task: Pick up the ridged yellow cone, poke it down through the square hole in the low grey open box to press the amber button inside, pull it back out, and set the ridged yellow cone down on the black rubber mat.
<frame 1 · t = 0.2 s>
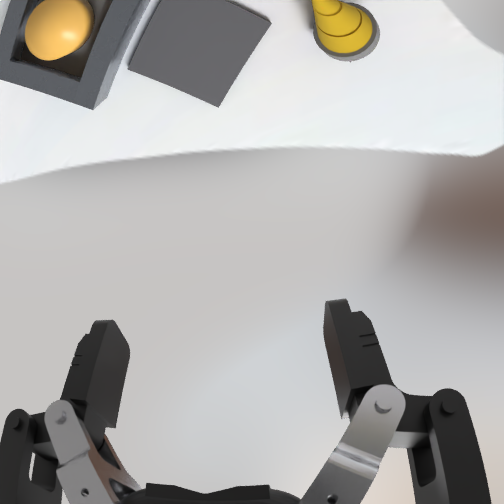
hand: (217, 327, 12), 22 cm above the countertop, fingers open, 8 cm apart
rest mat: (197, 42, 22), on the countertop
ridged yellow cone: (326, 25, 22), on the countertop
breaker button: (59, 26, 17), point 3 cm above the countertop, slide at 0.0 cm
grey open box: (74, 22, 19), on the countertop
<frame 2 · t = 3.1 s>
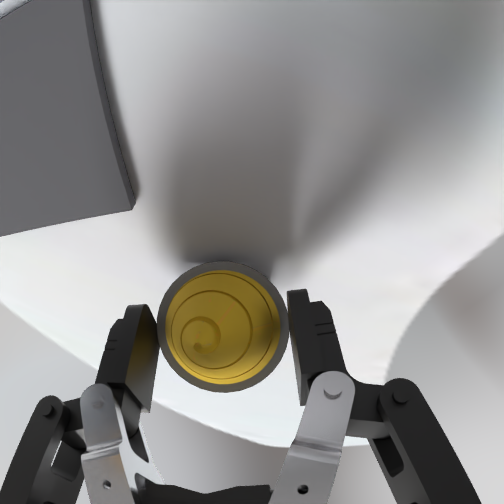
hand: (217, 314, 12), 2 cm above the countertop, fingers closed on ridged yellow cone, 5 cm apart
rest mat: (13, 126, 9), on the countertop
ridged yellow cone: (211, 271, 14), on the countertop, touching gripper
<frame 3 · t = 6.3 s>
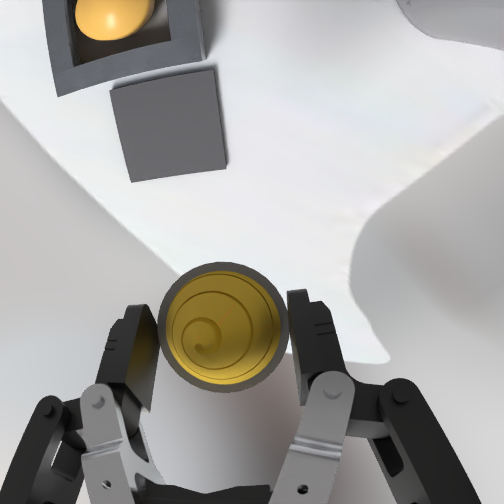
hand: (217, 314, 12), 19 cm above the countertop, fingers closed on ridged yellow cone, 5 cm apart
rest mat: (168, 126, 26), on the countertop
ridged yellow cone: (212, 271, 14), point 16 cm above the countertop, touching gripper
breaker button: (114, 6, 17), point 3 cm above the countertop, slide at 0.0 cm
grey open box: (127, 9, 19), on the countertop
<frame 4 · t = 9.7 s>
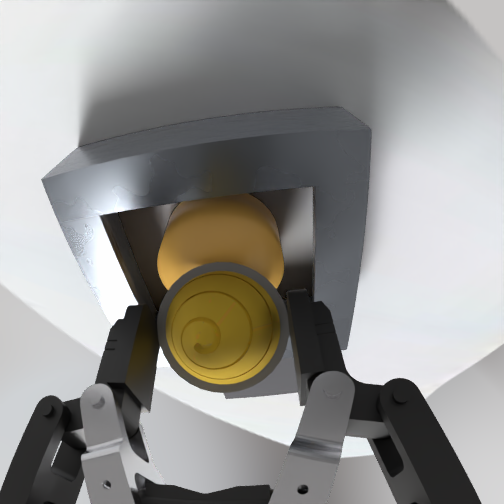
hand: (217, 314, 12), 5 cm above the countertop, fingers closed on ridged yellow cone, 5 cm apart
rest mat: (275, 360, 23), on the countertop
ridged yellow cone: (212, 271, 14), point 2 cm above the countertop, touching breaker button, gripper
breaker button: (221, 253, 15), point 1 cm above the countertop, slide at 1.6 cm, touching ridged yellow cone
grey open box: (222, 236, 16), on the countertop
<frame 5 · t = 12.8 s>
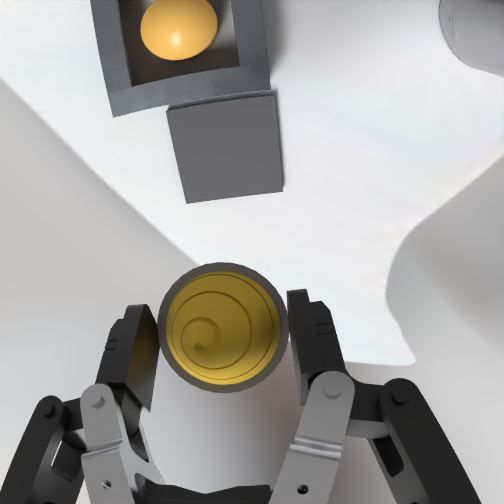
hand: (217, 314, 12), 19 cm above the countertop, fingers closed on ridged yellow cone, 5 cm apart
rest mat: (227, 149, 27), on the countertop
ridged yellow cone: (212, 272, 14), point 16 cm above the countertop, touching gripper
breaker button: (180, 26, 19), point 1 cm above the countertop, slide at 1.6 cm
grey open box: (183, 26, 20), on the countertop
when the fingers open (3 cm above the countertop, at t = 15.8 s): ridged yellow cone stays where it is, resting on rest mat.
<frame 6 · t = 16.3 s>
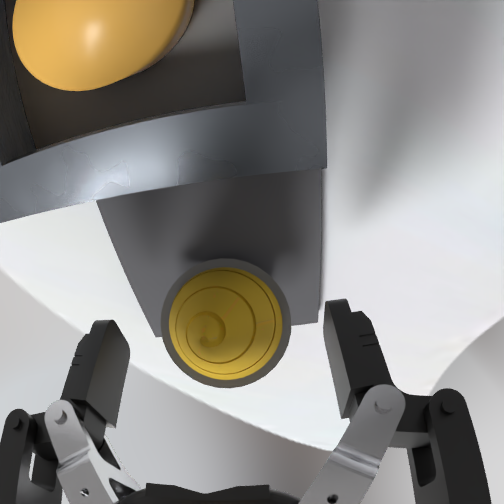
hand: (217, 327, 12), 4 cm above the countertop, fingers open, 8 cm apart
rest mat: (220, 259, 15), on the countertop
ridged yellow cone: (214, 268, 15), resting on rest mat
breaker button: (102, 5, 7), point 1 cm above the countertop, slide at 1.6 cm
grey open box: (117, 8, 8), on the countertop
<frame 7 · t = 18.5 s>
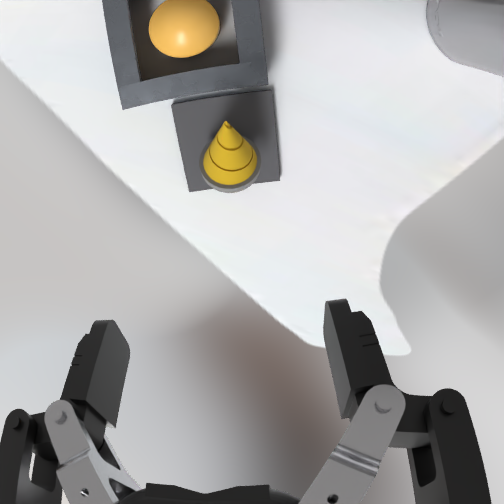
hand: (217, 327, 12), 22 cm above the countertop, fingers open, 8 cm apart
rest mat: (227, 141, 29), on the countertop
ridged yellow cone: (225, 144, 29), resting on rest mat
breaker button: (185, 26, 21), point 1 cm above the countertop, slide at 1.6 cm
grey open box: (187, 27, 22), on the countertop
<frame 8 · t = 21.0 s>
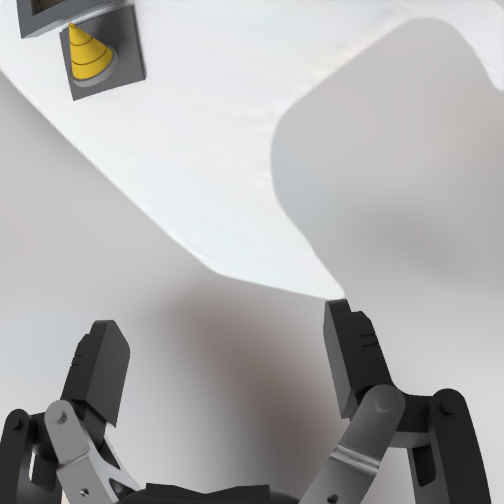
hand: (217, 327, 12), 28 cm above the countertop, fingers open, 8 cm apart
rest mat: (101, 53, 28), on the countertop
ridged yellow cone: (97, 55, 27), resting on rest mat
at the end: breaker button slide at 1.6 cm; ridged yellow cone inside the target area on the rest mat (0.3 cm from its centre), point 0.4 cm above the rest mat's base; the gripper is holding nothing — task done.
